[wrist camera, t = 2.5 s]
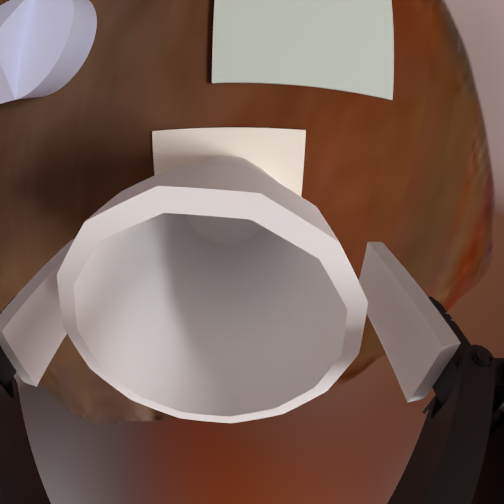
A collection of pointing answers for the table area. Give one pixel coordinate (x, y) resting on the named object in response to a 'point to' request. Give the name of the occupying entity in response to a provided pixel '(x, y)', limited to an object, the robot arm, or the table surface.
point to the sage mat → (305, 44)
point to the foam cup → (212, 294)
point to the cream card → (235, 149)
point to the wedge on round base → (43, 45)
